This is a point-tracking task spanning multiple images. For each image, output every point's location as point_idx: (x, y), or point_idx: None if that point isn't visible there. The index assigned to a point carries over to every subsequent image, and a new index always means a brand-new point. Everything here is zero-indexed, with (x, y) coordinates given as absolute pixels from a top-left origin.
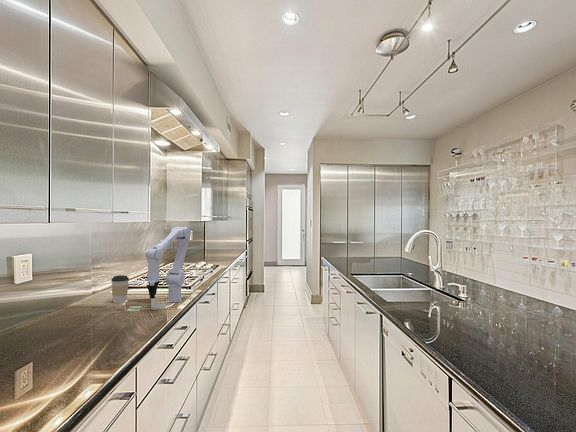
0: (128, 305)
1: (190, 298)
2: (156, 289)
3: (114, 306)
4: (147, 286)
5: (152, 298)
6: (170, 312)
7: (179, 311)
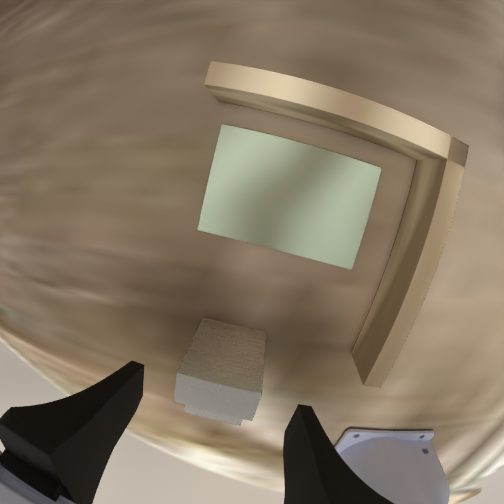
0: (418, 162)
1: None
2: (285, 481)
3: (441, 67)
4: (1, 417)
5: (181, 382)
6: None
7: None
